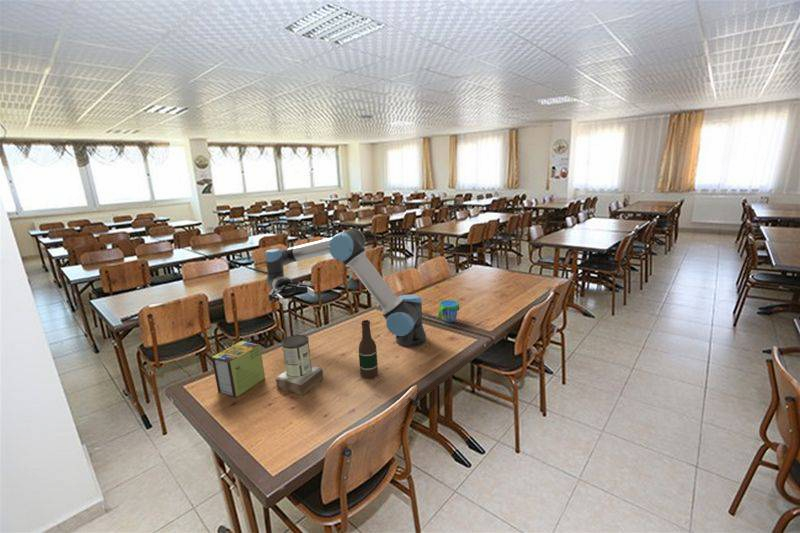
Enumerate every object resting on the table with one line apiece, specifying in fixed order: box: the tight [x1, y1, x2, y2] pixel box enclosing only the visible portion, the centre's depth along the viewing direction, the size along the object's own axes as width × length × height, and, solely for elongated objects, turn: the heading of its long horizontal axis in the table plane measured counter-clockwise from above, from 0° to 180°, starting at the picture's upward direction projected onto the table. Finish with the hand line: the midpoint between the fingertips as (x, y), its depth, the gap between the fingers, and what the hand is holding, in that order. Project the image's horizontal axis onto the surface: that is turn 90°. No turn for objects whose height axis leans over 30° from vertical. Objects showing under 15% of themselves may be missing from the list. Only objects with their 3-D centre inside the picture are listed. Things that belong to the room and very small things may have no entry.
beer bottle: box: [358, 319, 379, 380], centre depth 153 cm, size 8×8×24 cm
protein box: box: [211, 340, 266, 398], centre depth 150 cm, size 10×15×16 cm
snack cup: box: [437, 299, 460, 323], centre depth 206 cm, size 16×10×10 cm
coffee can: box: [281, 334, 313, 379], centre depth 149 cm, size 10×10×14 cm
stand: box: [275, 365, 324, 396], centre depth 151 cm, size 13×13×5 cm
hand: (298, 297), depth 157 cm, fingers open, 13 cm apart
